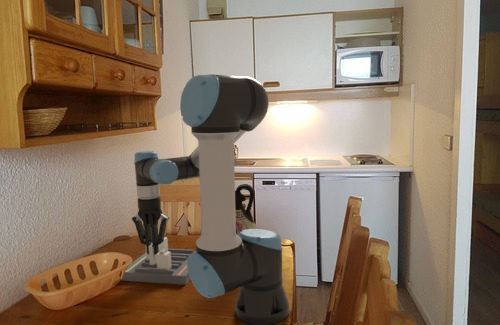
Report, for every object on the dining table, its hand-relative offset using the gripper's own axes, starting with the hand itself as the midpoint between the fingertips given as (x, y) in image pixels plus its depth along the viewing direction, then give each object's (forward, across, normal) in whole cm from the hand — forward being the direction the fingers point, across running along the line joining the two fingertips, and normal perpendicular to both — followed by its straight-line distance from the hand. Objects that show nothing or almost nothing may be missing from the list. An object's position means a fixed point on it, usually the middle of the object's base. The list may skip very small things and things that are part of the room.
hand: (153, 263), depth 128 cm
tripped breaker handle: (+2, -4, 0) cm, 4 cm away
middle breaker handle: (+2, +4, -7) cm, 8 cm away
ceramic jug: (+6, -27, -19) cm, 34 cm away
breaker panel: (+5, -1, -7) cm, 9 cm away
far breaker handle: (+2, +4, -14) cm, 15 cm away
